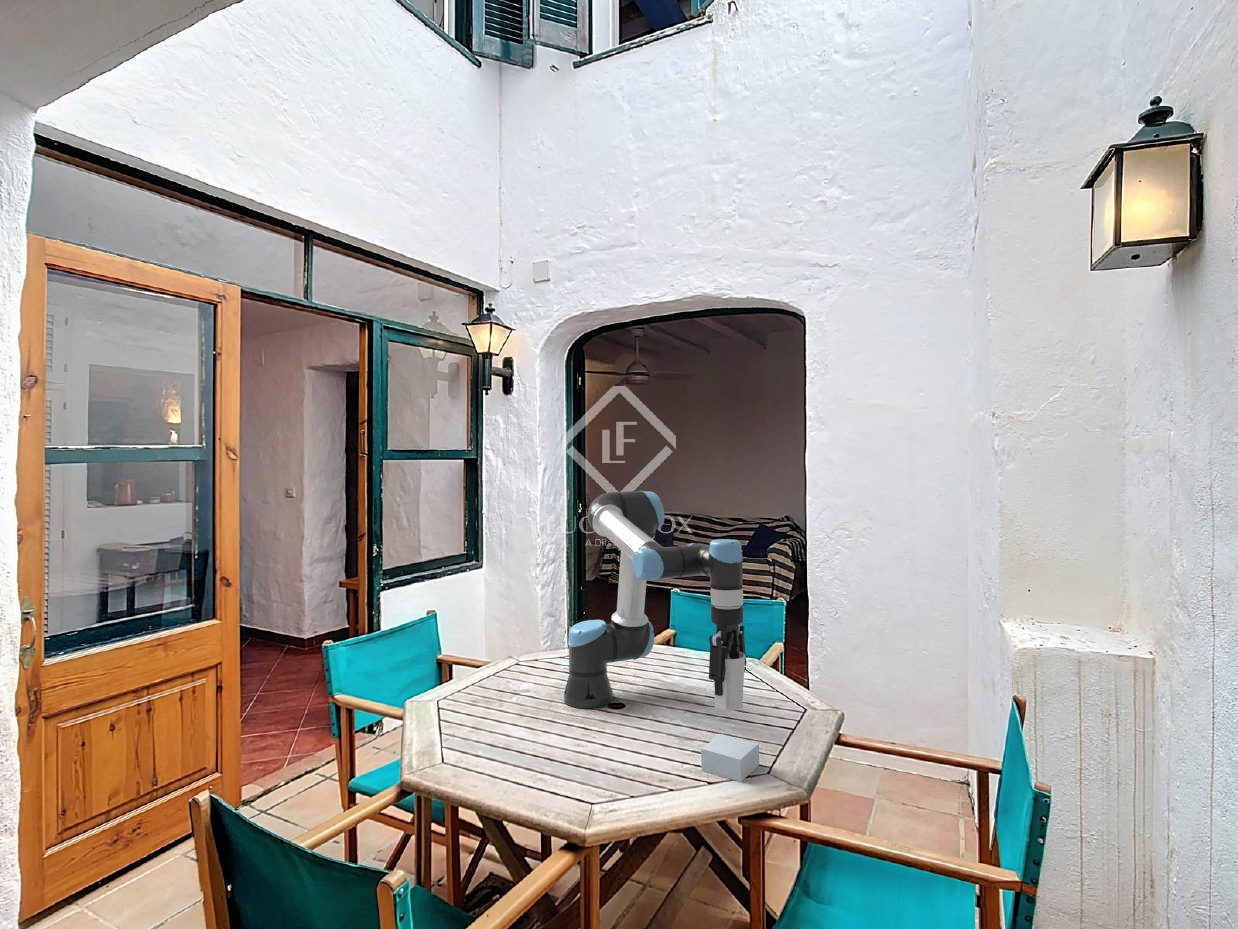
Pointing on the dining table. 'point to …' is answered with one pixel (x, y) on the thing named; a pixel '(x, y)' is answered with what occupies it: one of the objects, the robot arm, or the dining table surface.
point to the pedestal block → (730, 757)
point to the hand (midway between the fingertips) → (728, 703)
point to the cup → (734, 681)
